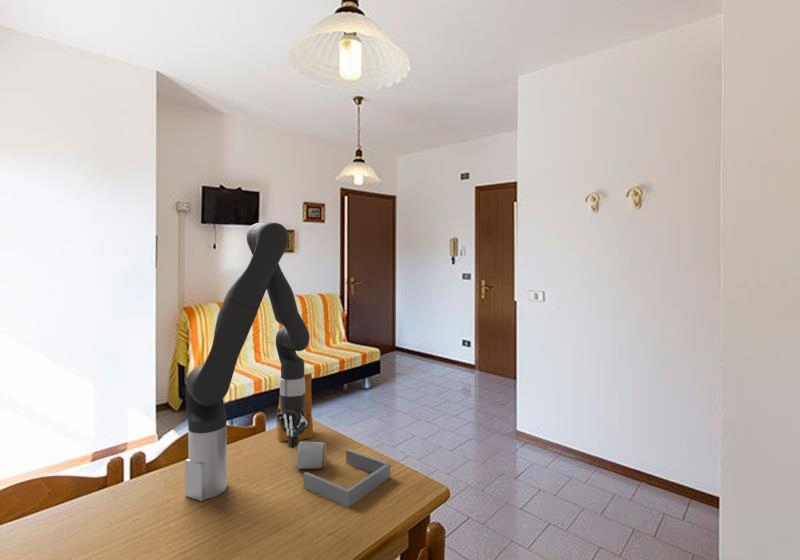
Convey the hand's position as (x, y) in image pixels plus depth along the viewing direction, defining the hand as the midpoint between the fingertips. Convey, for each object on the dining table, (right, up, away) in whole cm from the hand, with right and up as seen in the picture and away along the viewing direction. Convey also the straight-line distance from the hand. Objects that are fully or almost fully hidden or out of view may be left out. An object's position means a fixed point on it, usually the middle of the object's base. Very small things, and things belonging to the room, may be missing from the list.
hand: (292, 446), depth 127 cm
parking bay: (+18, -5, -13) cm, 23 cm away
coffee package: (-4, -4, +18) cm, 19 cm away
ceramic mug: (+7, -5, -3) cm, 8 cm away
